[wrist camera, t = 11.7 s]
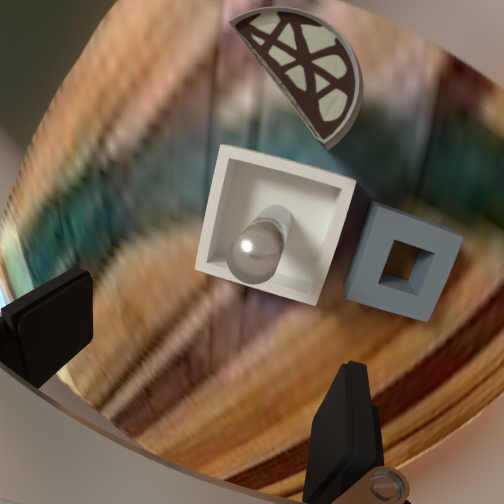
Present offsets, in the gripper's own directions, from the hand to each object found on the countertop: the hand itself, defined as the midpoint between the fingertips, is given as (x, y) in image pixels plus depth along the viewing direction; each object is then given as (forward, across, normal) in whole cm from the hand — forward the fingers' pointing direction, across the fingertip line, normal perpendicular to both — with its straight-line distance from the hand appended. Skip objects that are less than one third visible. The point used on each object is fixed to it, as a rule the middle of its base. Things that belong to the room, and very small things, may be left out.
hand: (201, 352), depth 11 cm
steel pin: (+22, +1, 0) cm, 22 cm away
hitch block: (+23, -12, 0) cm, 26 cm away
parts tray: (+23, +1, 0) cm, 23 cm away
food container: (+23, 0, -14) cm, 27 cm away
